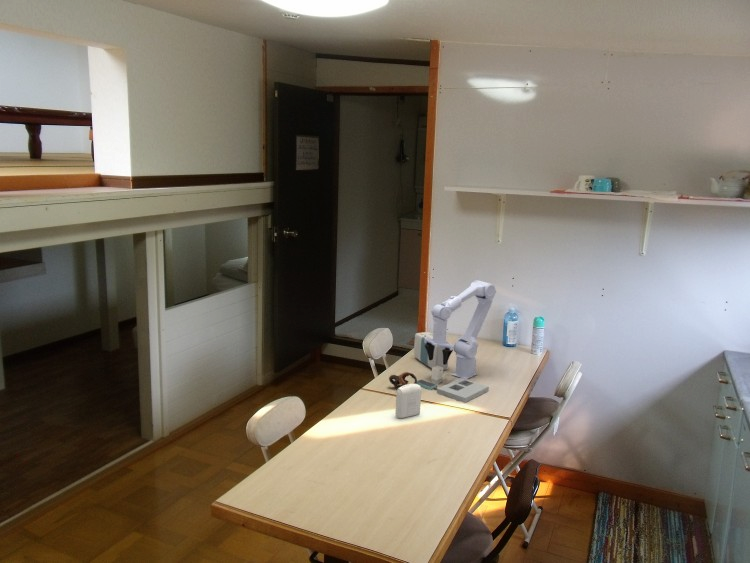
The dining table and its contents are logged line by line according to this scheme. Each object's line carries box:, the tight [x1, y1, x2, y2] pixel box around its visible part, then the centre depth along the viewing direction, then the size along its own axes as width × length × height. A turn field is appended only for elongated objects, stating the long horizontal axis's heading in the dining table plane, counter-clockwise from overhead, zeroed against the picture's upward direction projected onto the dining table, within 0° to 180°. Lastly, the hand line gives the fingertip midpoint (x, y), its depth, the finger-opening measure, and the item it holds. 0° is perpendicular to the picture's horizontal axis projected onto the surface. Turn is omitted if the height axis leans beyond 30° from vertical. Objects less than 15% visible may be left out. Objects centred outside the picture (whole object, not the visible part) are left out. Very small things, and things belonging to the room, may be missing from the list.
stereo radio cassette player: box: [413, 328, 449, 371], centre depth 291 cm, size 21×8×20 cm, turn 25°
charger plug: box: [430, 366, 444, 384], centre depth 271 cm, size 4×3×6 cm
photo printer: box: [395, 383, 422, 419], centre depth 235 cm, size 10×4×12 cm, turn 123°
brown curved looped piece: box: [388, 371, 418, 388], centre depth 261 cm, size 12×10×8 cm
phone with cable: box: [417, 378, 439, 391], centre depth 265 cm, size 12×4×1 cm, turn 49°
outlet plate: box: [436, 377, 490, 404], centre depth 260 cm, size 18×14×2 cm
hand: (437, 362), depth 270 cm, fingers open, 7 cm apart
